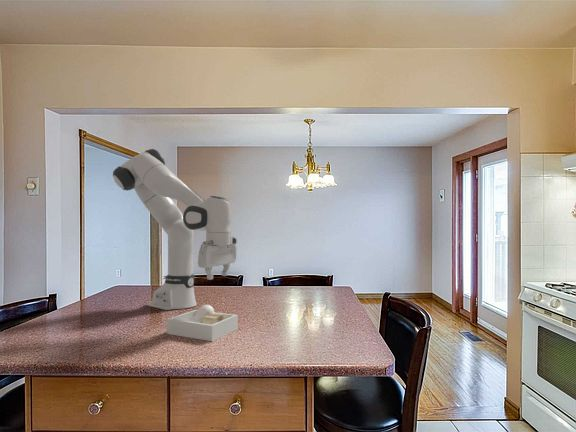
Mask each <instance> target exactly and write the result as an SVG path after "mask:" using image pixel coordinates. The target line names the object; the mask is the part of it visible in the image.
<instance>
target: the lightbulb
mask: <svg viewBox="0 0 576 432" xmlns="http://www.w3.org/2000/svg"><path fill="white" fill-rule="evenodd" d="M197 310H198V311H197V313H196V314H195V316H194V317H193V318H192V319H191V320H190V322H197V323H203V316H206V315H209V314H211V313H214V312H215V309H214V308H213V306H212V305H210V304H203V305H201V306H200V307H199V308H198V309H197Z"/></svg>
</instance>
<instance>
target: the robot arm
mask: <svg viewBox="0 0 576 432" xmlns="http://www.w3.org/2000/svg"><path fill="white" fill-rule="evenodd" d="M112 177H113V180H114V183H115V184H116V185H117V186H118V187H119V188H120V189H122V190H123V191H132V190H134V191H135V193H136V194H137V195H136V196H137V197H138V198H139V199H140V201H141V202H142V204H143V205H144V207H145V208H146V209H147V210H148V212H149V213H150V214H151V216H152V217H153V218H154V220H155V221H156V222H157V223H158V225H159V226H160V227H161V228H162V230H163V231H164V232H165V233H166V234H167V275H164V276H163V278H162V279H163V280H164V283H163V284H161V286H159V287H158V288H157V289H156V290H154V291H153V293H152V300H151V301H149V302H147V304H146V305H147V307H150V308H151V307H152V308H155V309H161V310H164V311H169V310H181V309H188V308H193V307H195V306H197V305H198V304H197V301H196V296H195V288H194V287H195V286H194V284H195V274H194V241H195V240H194V239H195V238H194V237H195V235H194V234H195V231H206V233H205V236H206V237H205V240H204V241H203V242H201V244H200V248H199V250H198V256H197V257H198V258H197V266H198V267H199V268H202V269H204V271H205V275H206V279H207V280H209V281H211V280H214V274H213V272H212V271H213V267H214V268H215V267H217V266H218V267H220V266H222V267H223V268H222V270H221V276H222V277H226V276H227V277H228V271H229V269H230V264H233V263H234V264H235V262H236V260H237V251H238V250H237V249H238V248H237V244H238V239H237V237H234V236H232V234H231V228H230V227H231V226H230V225H231V221H232V210H231V203H230V201H229V200H230V199H228V198H226V197H223V196H217V195H211V196H208V197H207V199H204V198H203V197H201V196H200V195H199V194H197V192H196V191H194V190H193V189H192V188H190V186H188V185H186V184H185V183H184V182H183V181H182V180H181V179H180V178H179V177H177V175H176V174H175V173H174V172H172V171H171V170H170V169H169V167H167V166H166V162H165V158H164V156H163V155H162V154H161V153H160V152H159V150H157V149H154V148H150V149H146V150H145V151H144V152H140V153H138V154H136V155H135V156H132V157H131V158H130V159H129V160H127V161H126V162H124V163H122V164H121V165H119V166H117V167H116V168H115V169H114V170H113V171H112ZM174 200H176V201H179V202H181V204H184V205H185V206H186V208H185V209H184V211H183V213H182V211H181V210H180V208H179V207H178V206H177V204H176V203H175V202H174Z"/></svg>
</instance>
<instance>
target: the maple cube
mask: <svg viewBox="0 0 576 432" xmlns="http://www.w3.org/2000/svg"><path fill="white" fill-rule="evenodd" d="M222 320H224V315H222V314H214V313H211V314H209V315H206V316H203V323H204V324H210V325H212V324H215V323H217V322H219V321H222Z"/></svg>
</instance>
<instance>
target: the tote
mask: <svg viewBox="0 0 576 432" xmlns="http://www.w3.org/2000/svg"><path fill="white" fill-rule="evenodd" d="M197 311H198V309H193V310H191V311H188V312H184V313H182V314H178V315H175V316H172V317H169V318H166V334H167V335H173V336H178V337H184V338H190V339H194V340H195V339H196V340H202V341H208V342H214V341H216V340H218V339H220V338H222V337H224V336H227V335H229V334H231V333H232V332H235V331H237V330H238V328H239V327H238V326H239V323H238V321H239V320H238V319H239V317H238V316H239V315H238V314H231V313H224V312H215V311H214V314H222V315H224V320H222V321H219V322H217V323H215V324H212V325H210V324H204V323H197V322H190V320H191V319H192V318H193V317H194V316H195V314H196V313H197Z"/></svg>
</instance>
